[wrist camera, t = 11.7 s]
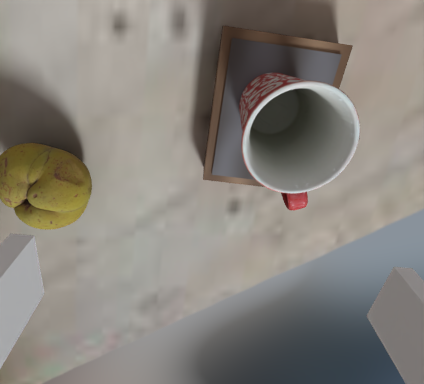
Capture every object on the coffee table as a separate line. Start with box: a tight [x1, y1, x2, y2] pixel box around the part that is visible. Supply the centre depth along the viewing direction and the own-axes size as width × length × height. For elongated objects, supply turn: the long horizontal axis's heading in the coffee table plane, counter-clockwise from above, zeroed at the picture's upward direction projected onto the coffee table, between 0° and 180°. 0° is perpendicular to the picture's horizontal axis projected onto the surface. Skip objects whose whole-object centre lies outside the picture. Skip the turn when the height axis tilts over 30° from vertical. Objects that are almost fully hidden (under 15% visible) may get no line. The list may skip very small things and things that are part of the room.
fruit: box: [0, 143, 92, 229], centre depth 39 cm, size 11×12×10 cm
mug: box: [239, 73, 360, 210], centre depth 30 cm, size 13×9×14 cm
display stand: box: [203, 26, 352, 187], centre depth 38 cm, size 14×18×4 cm
